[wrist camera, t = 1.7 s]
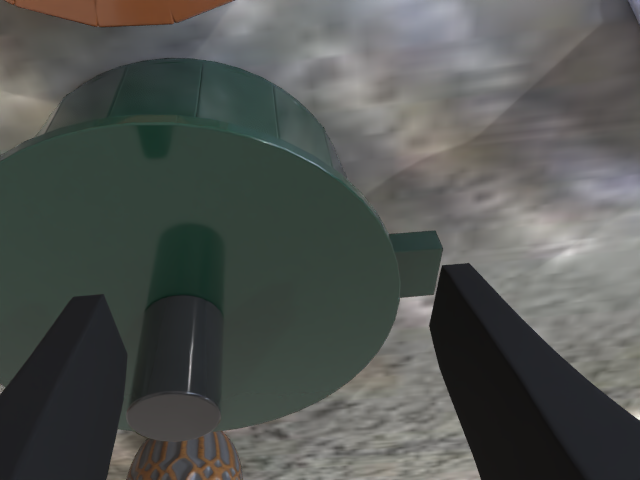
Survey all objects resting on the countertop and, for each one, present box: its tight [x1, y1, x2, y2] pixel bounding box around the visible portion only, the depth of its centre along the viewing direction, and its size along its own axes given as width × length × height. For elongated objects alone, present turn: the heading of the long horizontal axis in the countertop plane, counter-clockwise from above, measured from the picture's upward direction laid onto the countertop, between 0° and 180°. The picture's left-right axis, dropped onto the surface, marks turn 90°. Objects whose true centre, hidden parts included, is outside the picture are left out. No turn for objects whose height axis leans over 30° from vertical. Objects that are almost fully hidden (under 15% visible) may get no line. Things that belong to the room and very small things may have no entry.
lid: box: [0, 115, 401, 442], centre depth 17 cm, size 15×15×5 cm
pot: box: [36, 58, 443, 298], centre depth 20 cm, size 13×18×6 cm
